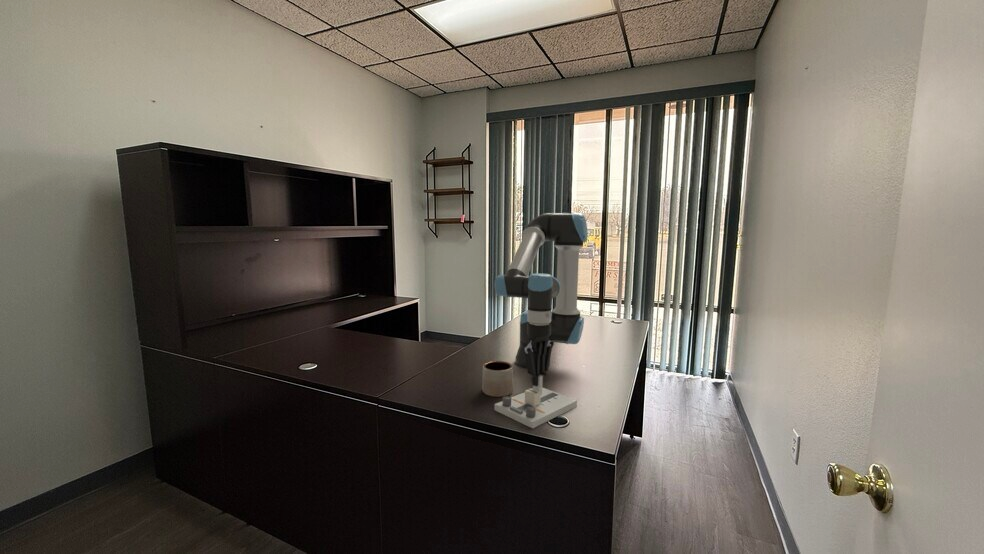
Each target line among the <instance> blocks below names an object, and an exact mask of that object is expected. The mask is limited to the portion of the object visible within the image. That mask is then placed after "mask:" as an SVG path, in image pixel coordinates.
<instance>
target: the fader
mask: <svg viewBox="0 0 984 554" xmlns="http://www.w3.org/2000/svg"><path fill="white" fill-rule="evenodd" d="M524 392H525V403H527V404H529V405H531V406H534V407H535V406H537V405H539V404H540V401H541V392H540V391H537V390H534V389H533V387H532V388H529V389H526V390H525V391H524Z"/></svg>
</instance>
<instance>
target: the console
mask: <svg viewBox="0 0 984 554" xmlns="http://www.w3.org/2000/svg"><path fill="white" fill-rule="evenodd" d="M577 404H578V400H577V399H574V398H573V397H572V398H571V397H570V396H565V395H563V394H561V393H558V392H555V391H553V390H551V389H548V388H545V387H542V396H541V401H540V404H539V405H537V406H535V407H534V406H531V405H529V404H527V403H525V391H524V392H522V393H519V394H517V395H514V396H509V395H507V396H504V397H502V401H499V402H496V403H494V412H495V411H496V412H497V413H500V414H502V415H503V416H506V417H508V418H511V419H512V420H514V421H516V422H517V423H520V424H522V425H524V426H526V427H529V428H530V429H535V428H537V427H539V426H541V425H542V424H545V423H546V422H547V423H548V421H551V420H553V419H554V418H557V417H559V416H561V415H563V414H565V413H566V412H568V411H571V410H573V409H575V408H576V407H578V405H577Z"/></svg>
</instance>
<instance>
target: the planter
mask: <svg viewBox="0 0 984 554" xmlns="http://www.w3.org/2000/svg"><path fill="white" fill-rule="evenodd" d="M481 389H482V393H483V394H485V395H487V396H488V397H492V398H503V397H505V396H509V395H511V394H512V393H513V391H514V390H513V389H514V366H513V364H512V363H510V362H508V361H502V360H491V361H488V362H484V364H482V385H481Z"/></svg>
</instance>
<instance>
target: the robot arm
mask: <svg viewBox="0 0 984 554" xmlns="http://www.w3.org/2000/svg"><path fill="white" fill-rule="evenodd" d="M587 225H588V223H587V219H586V217H585V215H584V214H583V213H581V212H546V213H542V214H539V215H537V216H536V217H534V218H533V219H532V220H530V221H529V222H528V224H527V225H526V226H525V227H524V229H523V231H522V234H521V238H522V239H521V241H520V243H519V246H518V248H517V250H516V252H515V254H514V256H513V259H512V260H511V262H510V264H509V267H508V269H507V271H506V273H505V274H498V275H497V276H496V277H495V280H494V291H495V294H496V296H499V297H506V298H520V299H521V298H522V299H527V310H526V311H523V312H522V313H520V320H519V346H518V348H517V349H518V350H517V353H516V355H515V359H514V360H515V364H516V366H519V367H521V368H524V369H525V368H526V371H527V375H528V376H529V375H530V376H531V377H532V379H531V380H532V383H531V384H532V389H534V390H537V391H540V392H541V396H542V388H543V384H544V376H546V375H547V372H548V371H549V367H550V365H551V355H552V352H553V351H552V350H553V346H554V344H555V343H558V344H565V345H577V344H578V343H579V342H580V340H581V339H582V336H583V335H582V333H583V330H584V323H585V318H584V317H583V316H582V315H581V311H580V310H579V309H578V307H577V306H578V287H579V286H578V282H579V261H580V260H579V259H580V258H579V257H580V253H579V252H580V250H581V249H582V248H583V246H584V243H585V242H587V241H588V226H587ZM545 242H554V243H553V246H554V247H555V248H556V249H557V262H556V263H557V264H556V265H557V266H556V267H557V268H556V277H555V276H553V275H551V274H549V273H531V274H530V275H529V273H530V270H531V269H532V266H533V264H534V261H535V260H536V257H537V254H538V252H539V249H540V247H541V246H542V245H544V243H545ZM553 299H555V307H554V308H553V309H552V306H553V304H552V303H553Z"/></svg>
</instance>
